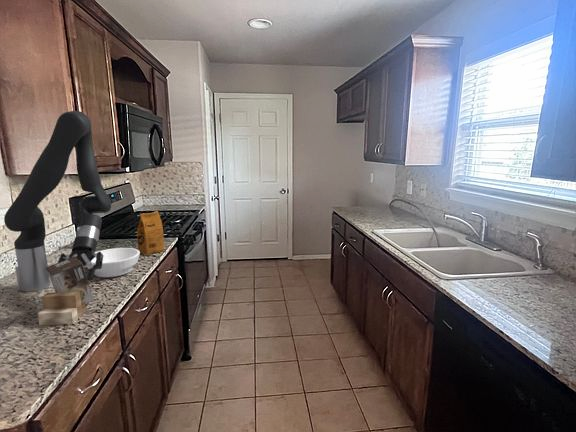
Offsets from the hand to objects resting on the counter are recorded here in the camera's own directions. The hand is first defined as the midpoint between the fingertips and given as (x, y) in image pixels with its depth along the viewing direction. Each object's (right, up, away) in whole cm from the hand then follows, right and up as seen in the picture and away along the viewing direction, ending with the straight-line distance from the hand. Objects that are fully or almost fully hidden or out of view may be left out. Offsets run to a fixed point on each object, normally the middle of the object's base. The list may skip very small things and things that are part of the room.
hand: (75, 280), depth 113 cm
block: (0, -10, -5) cm, 11 cm away
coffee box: (-1, -8, +2) cm, 9 cm away
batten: (+1, -12, -9) cm, 15 cm away
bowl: (-5, -3, +35) cm, 35 cm away
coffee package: (-1, +3, +65) cm, 65 cm away
